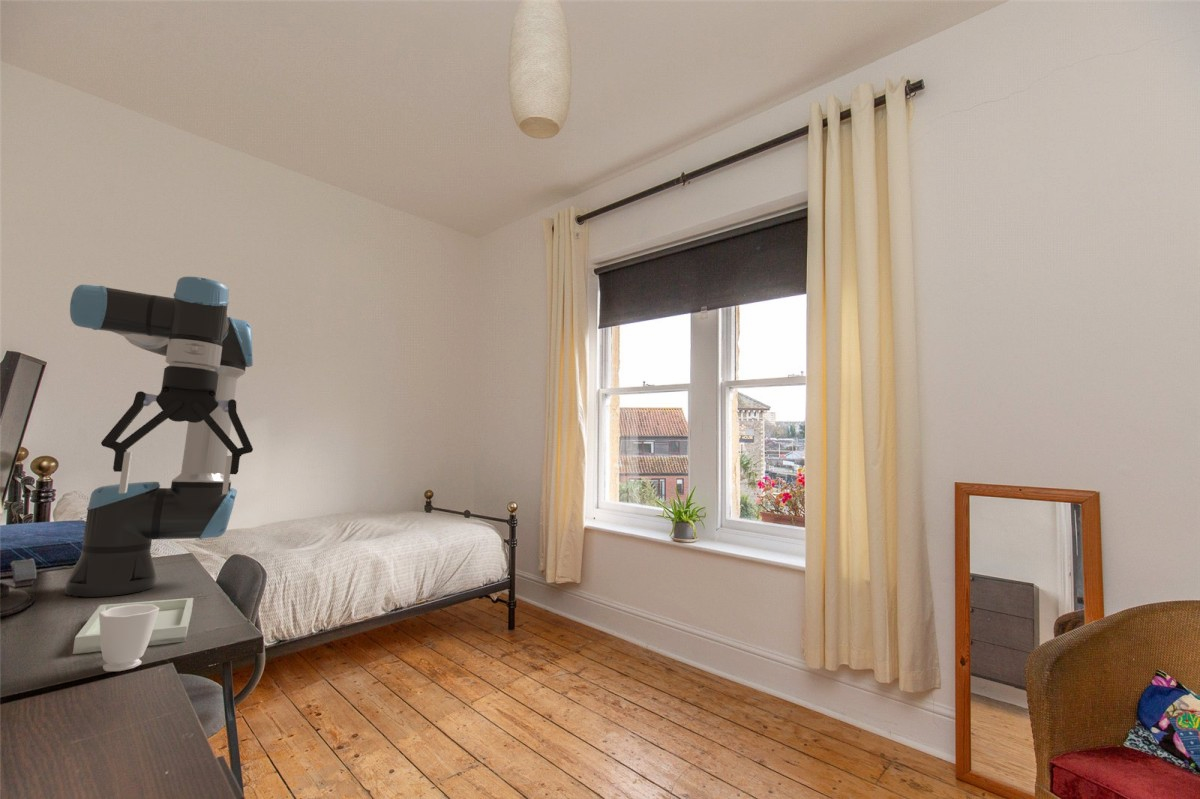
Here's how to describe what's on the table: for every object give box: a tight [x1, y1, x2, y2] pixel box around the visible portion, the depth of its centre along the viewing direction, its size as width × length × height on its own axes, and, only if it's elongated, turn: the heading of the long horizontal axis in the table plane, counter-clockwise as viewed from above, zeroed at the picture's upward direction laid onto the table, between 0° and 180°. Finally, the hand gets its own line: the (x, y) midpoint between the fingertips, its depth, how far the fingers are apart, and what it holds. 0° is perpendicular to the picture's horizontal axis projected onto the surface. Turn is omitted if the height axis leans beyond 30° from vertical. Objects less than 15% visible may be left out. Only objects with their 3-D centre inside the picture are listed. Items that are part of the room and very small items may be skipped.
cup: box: [99, 604, 159, 672], centre depth 83 cm, size 7×10×8 cm
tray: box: [72, 597, 194, 655], centre depth 97 cm, size 20×14×2 cm
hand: (175, 493), depth 92 cm, fingers open, 13 cm apart
